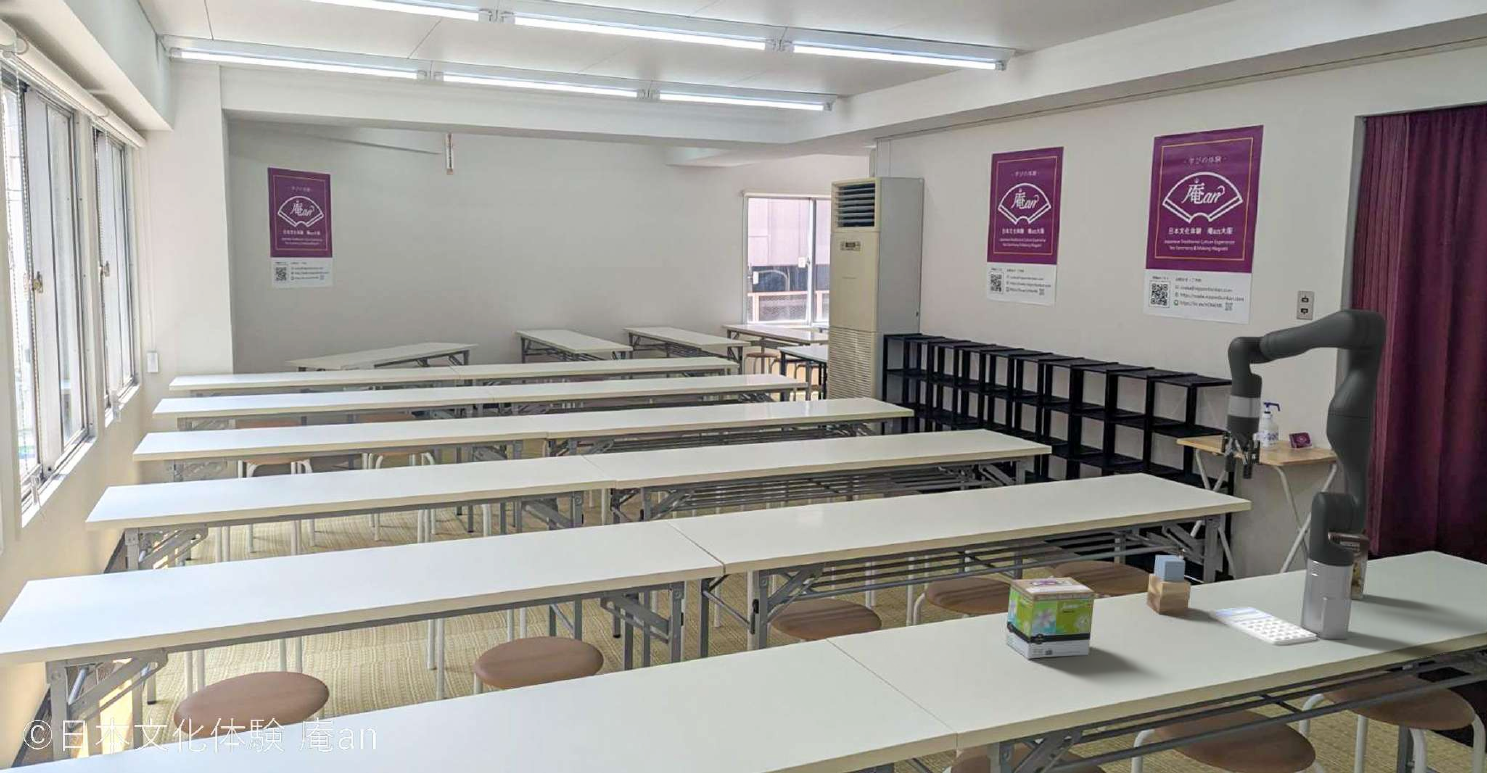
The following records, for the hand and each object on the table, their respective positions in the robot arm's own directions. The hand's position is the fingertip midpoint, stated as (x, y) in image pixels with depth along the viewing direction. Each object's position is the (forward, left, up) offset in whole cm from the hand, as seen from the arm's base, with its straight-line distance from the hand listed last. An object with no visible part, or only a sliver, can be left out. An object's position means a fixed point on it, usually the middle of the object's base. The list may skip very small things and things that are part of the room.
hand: (1237, 475), depth 268 cm
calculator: (-29, +7, -31) cm, 43 cm away
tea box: (-44, +64, -30) cm, 83 cm away
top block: (-18, +25, -26) cm, 40 cm away
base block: (-18, +25, -30) cm, 43 cm away
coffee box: (-5, -28, -30) cm, 42 cm away
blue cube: (-18, +25, -22) cm, 38 cm away
